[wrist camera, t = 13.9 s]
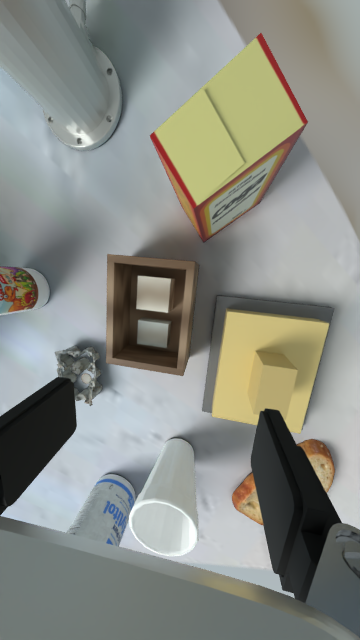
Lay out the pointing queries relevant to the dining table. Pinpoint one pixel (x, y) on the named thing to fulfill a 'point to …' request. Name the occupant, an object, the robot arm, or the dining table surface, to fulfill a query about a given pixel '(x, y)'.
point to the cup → (168, 503)
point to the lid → (267, 366)
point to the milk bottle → (22, 290)
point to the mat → (254, 306)
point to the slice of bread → (319, 459)
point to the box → (150, 312)
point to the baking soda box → (230, 139)
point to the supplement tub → (105, 511)
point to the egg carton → (80, 371)
